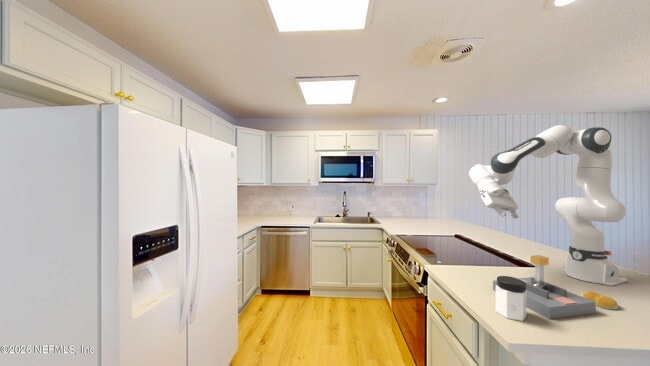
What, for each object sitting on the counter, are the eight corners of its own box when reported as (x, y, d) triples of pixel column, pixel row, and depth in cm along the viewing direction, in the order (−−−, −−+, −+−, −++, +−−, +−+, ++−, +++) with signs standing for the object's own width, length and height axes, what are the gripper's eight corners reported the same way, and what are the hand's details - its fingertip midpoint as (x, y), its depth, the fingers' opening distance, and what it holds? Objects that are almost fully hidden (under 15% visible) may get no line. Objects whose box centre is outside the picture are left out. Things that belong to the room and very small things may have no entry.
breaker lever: (540, 287, 95) (540, 255, 95) (548, 291, 92) (549, 257, 92) (529, 288, 94) (530, 255, 94) (538, 292, 91) (538, 258, 91)
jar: (499, 317, 81) (499, 282, 81) (492, 305, 89) (492, 274, 89) (531, 323, 78) (532, 287, 78) (521, 310, 86) (521, 277, 86)
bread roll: (611, 312, 85) (611, 301, 85) (578, 300, 93) (578, 290, 93) (623, 308, 88) (623, 297, 88) (589, 297, 96) (589, 287, 96)
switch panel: (531, 286, 106) (531, 271, 105) (595, 313, 84) (595, 295, 84) (492, 289, 102) (493, 274, 102) (549, 319, 80) (549, 300, 80)
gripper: (484, 185, 108) (503, 210, 100) (510, 191, 117) (529, 215, 108) (473, 193, 113) (490, 218, 104) (498, 198, 121) (516, 222, 112)
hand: (510, 216), depth 106 cm, fingers open, 8 cm apart
